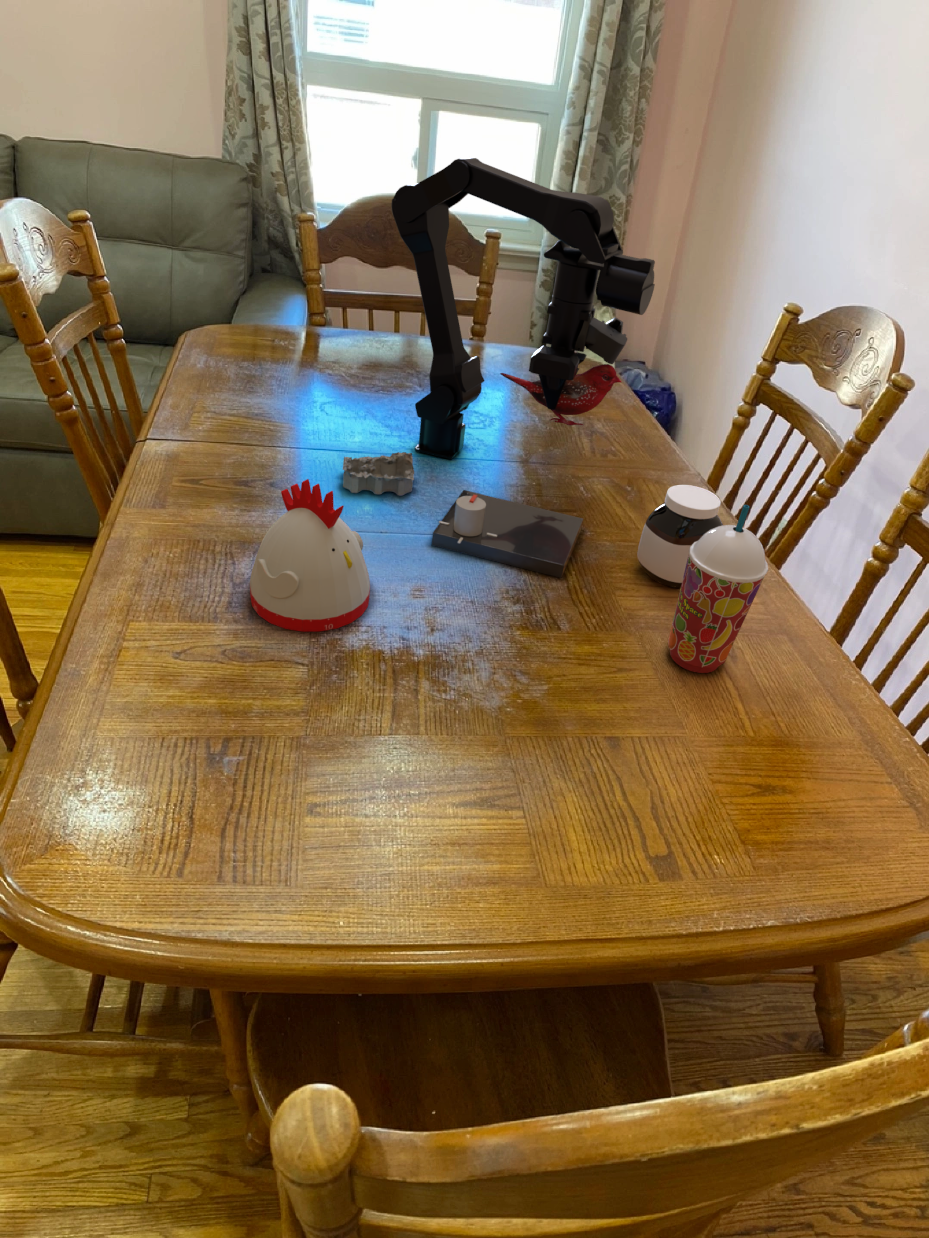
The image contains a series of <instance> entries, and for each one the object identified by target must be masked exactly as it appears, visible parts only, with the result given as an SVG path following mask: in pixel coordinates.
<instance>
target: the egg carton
mask: <svg viewBox="0 0 929 1238" xmlns="http://www.w3.org/2000/svg"><path fill="white" fill-rule="evenodd" d="M341 470H342V471H343V474H342V476H343V477H342V478H343V479H342V480H343V481H342V483H343V484H342V487H343V488H344V489H346V490H348V491H350V493H351V494H358V493H359V492H362V491H370V492H373V494H374V495H382V494H383V493H385V492H393V493H395V494H396V495H397V496H398V497H399V496H405V495H406V494H409V493H411V492H412V491H413V484H414V480H415V478H414V477H415V468H414V459H413V453H412V452H406V451H403V452H392V453H391V455H390V456H387V455H380V456H375V457H374V456H373V457H372V456H362V457H361V456H360V457H358V458H357V457H354V458H353V457H352V456H343V462H342V469H341Z"/></svg>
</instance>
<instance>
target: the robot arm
mask: <svg viewBox="0 0 929 1238" xmlns="http://www.w3.org/2000/svg"><path fill="white" fill-rule="evenodd" d="M468 195H471V196H473V197H475V198H477V199H480V200H483V201H485V202H488V203H491V204H492V205H495V206H497V207H500V208H502V209H505V210H508V211H510V212H513V213H515V214H518V215H520V216H523V217H525V218H528V219H530V220H533V221H535V222H536V223H538V224H539V225H541V226H542V227H543V228H544V229H545V230H546V231H547V232H548V233H549V234H550V235H551V236H553V237H554V238H556V239H558V240H557V241H556V242H555V244H554V245H553V246H552V247H551V248H549V249H548V250H546V251H545V252H544V253H543V257H544V258H545V259H548V260H554V261H556V262H557V266H556V272H555V278H554V284H553V290H552V294H551V295H552V296H551V302H550V303H549V304H548V306H547V312H546V314H548V320H547V324H546V325H547V326H546V332H544V334H543V335H542V341H541V343H542V344H545V345H542V346H540V347H539V348H538V349H536V350H535V351H534V352H533V354H532V355H531V356H530V361H529V368H528V372H530V374H534V375H535V374H536V375H538V377H539V380H540V381H541V385H542V388H543V392H544V396H545V400H546V404H547V407H546V408H547V410H550V411H551V410H555V409H556V406H557V403H558V401H559V398H560V396H561V393H562V390H563V388H564V385H565V382H566V380H573V379H574V377H575V375H577V374H578V372H579V370H580V367H579V365H580V364H582V363H583V362H585V359H586V357H587V356H588V355H587V354H586V353H584V351H585V350H588V351H590V352H592V353H593V354H595V355H596V356H598V357H600V358H602V359H603V361H604V362H605V363H606V364H609V365H614V364H615V362H616V360H617V359H618V357H619V356H620V354H621V352H623V349H624V347H625V346H626V344H627V342H628V337H627V334H626V333H623V331H624V321H622V320H621V319H619V318H617V317H616V316H615V317H613V318H611V319H610V320H607V322H606V321H605V320H602V321H601V320H599V318H596V317H595V314H596V308H595V305H594V300H595V295H596V300H597V301H599V302H600V304H601V306H603V307H607V308H611V309H615V310H618V311H623V312H627V313H631V314H636V315H639V316H643V315H644V314H645V313H646V312H647V309H648V307H649V306H650V303H651V301H652V298H653V293H654V290H655V283H654V282H655V271H654V268H655V264H656V261H655V260H654V259H651V258H646V257H645V258H644V257H643V258H642V257H641V258H638V257H634V256H631V255H625V254H624V249H623V247H622V245H621V242H620V240H619V237H618V235H617V233H616V230H615V228H614V221H615V220H614V218H615V217H614V212H613V209H612V206H611V203H610V202H609V201H608V200H607V199H605V198H604V197H602V196H599V195H594V194H586V193H580V192H571V191H561V190H556V189H555V190H554V189H551V188H548V187H546V186H543V185H540V184H538V183H535V182H533V181H531V180H529V179H525V178H522V177H520V176H518V175H515V174H512V173H510V172H508V171H505V170H502V169H499V168H497V167H494V166H492V165H489V164H487V163H484V162H482V161H481V160H480V159H478V158H477V157H472V156H469V157H462V158H461V157H460V158H456V159H454V160H452V162H451V163H450V164H448V165H447V166H445V167H444V168H442V169H441V170H438V171H437V172H435V173H433V174H432V175H430V176H428V177H426V178H425V179H423V180H421V181H419V182H417V183H410V184H405V185H402V186H401V187H399V188H398V189H397V191H395V194H394V196H393V198H392V199H391V203H390V204H391V205H390V207H391V208H390V209H391V214H392V217H393V220H394V222H395V225H396V228H397V231H398V234H399V236H400V238H401V240H402V241H403V243H404V244H405V246H406V247H407V249H408V250H409V251H410V253H411V254H412V257H413V260H414V261H413V262H414V266H415V272H416V277H417V281H418V286H419V291H420V295H421V300H422V305H423V310H424V315H425V322H426V325H427V331H428V336H429V340H430V345H431V350H432V359H431V365H430V370H429V392H428V394H426V395H425V396H423V398H421V399H420V400H418V401H417V402H416V403H415V404H414V407H415V412H416V416H417V418H420V423H419V424H420V425H419V436H418V437H419V438H418V443H417V445H416V446H414V451H415V452H416V453H422V454H427V455H430V456H435V457H438V458H443V459H447V460H453V459H454V458H455V456H456V455H457V454H458V453H460V452H461V450H462V449H463V448H464V443H465V433H466V423H464V413H463V412H464V411H466V410H467V409H468V408H469V406H470V404H471V403H473V402H475V401H476V400H477V399H478V398H479V396H480V395H481V394H482V383H484V382H485V378H484V377H483V375H482V371H481V360H480V356H478V355H476V356H473V357H472V356H470V354H469V352H468V351H467V350H466V347H465V346H464V342H463V337H462V331H461V326H460V320H459V315H458V310H457V305H456V299H455V294H454V289H453V283H452V278H451V273H450V267H449V262H448V257H447V251H446V250H447V249H446V244H447V239H448V238H447V237H448V235H449V229H450V213H449V212H450V210H449V209H450V208H452V207H453V206H455V205H457V204H459V202H461V201H462V200H463V199H464V198H465V197H467V196H468ZM549 345H550V346H549Z"/></svg>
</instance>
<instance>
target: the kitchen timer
mask: <svg viewBox="0 0 929 1238" xmlns="http://www.w3.org/2000/svg"><path fill="white" fill-rule="evenodd" d="M300 484H301V485H299V484H298V483H294V484H293V485H290V491H289V489H288V488H285V489H283V490H281V491H280V494H281V498H282V501H283V504H284V506H285V509H286V512H284V513H282V515H281V516H280V517H279V518H277V519H276V520H275V521H274V523H272V525H271V526H270V527H269V529H268V530H267V531H266V533H265V534H264V536H263V538H262V540H261V543H260V545H259V547H258V551H257V553H256V555H255V556H256V557H255V560H254V562H253V566H252V569H251V573H250V579H249V595H250V602H251V607H252V608H253V609H254V611H255V613H256V614H257V615H258V616H259V617H260V618H261V619H263V620H265V621H266V622H268V623H269V624H271V625H274V626H277V627H279V628H281V629H285V630H290V631H296V632H301V633H302V632H307V633H308V632H324V631H325V632H326V631H330V630H337V629H340V628H341V627H344V626H347V625H349V624H352V623H353V622H354V621H356V620H357V619H359V618H360V617H362V616H363V614H364V613H365V612H366V610H367V609H368V607H369V603H370V593H371V580H370V574H369V573H370V572H369V570H368V567H367V564H366V560H365V557H364V554H363V549H364V541H363V539H362V537H361V536H360V534H359V532H357V531H355V530H352V529H351V528H350V526H349V525H348V524H347V523H346V522H345V521H344V520H343V519H342V518H341V517H340V516H341V514H342V513H343V510H344V506H345V505H341V506H339V507H337V508H334V507H335V505H334V490H331V491H328V492H327V493H325V495H324V498H323V496H322V490H321V486H320V483H317V484H314V485H313V486H312V488H311V483H310V479H309V478H306V479H305V480H302V481H301V483H300Z"/></svg>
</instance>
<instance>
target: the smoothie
mask: <svg viewBox="0 0 929 1238" xmlns="http://www.w3.org/2000/svg"><path fill="white" fill-rule="evenodd" d="M749 510H750V505H748V504H743V506H742V509H741V512H740V515H739V517H738V519H737V523H736V525H735V524H723V526H718V527H716V528H713V529H711V530H709V531H708V532H706V533H705V534H704V535H703V536H702V537H701V538H700V539H699V540H698V541H696V542H694V543H693V544H692V545H691V547H690V549H689V555H688V559H687V563H686V568H685V572H684V576H683V580H682V585H681V588H679V593H678V597H677V602H676V607H675V611H674V613H673V614H674V615H673V618H672V619H673V620H672V624H671V627H670V630H669V635H668V641H667V646H668V648H669V654H670V657H671V659H672V661H674V662H675V663H676V665H678V666H679V667H681V668H683V669H685V670H687V671H690V672H694V673H697V674H698V673H699V674H708V673H712V672H714V671H716V670H717V669H718V667H720V666H722V665H723V664H725V662H726V660H727V658H728V656H729V655H730V652H731V650H732V647H733V645H734V644H735V641H736V639H737V637H738V635H739V632H740V631H741V628H742V627H743V624H744V621H745V620H746V617H747V615H748V613H749V611H750V609H751V606H752V604H753V602H754V600H755V598H756V597H757V596H756V595H757V594H758V592H759V589H760V587H761V585H762V583H763V581H764V578H765V576H766V575H767V573H768V572H769V564H768V562H767V560H766V554H765V549H764V546H763V544H762V542H761V541H760V539H759V538H758V536H756V535H755V534H754V533H753V532H752V531H751V530H749V529H747V528H745V527H744V525H745V522H746V519H747V515H748V513H749Z"/></svg>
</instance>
